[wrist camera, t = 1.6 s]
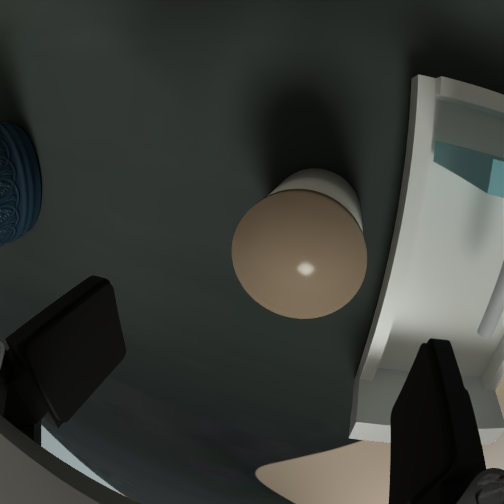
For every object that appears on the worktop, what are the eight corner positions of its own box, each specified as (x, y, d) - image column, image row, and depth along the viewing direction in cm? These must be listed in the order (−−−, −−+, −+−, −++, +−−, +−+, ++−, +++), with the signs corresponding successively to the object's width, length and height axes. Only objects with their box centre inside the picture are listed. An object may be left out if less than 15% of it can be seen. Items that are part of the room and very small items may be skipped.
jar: (368, 173, 18) (378, 203, 12) (354, 262, 20) (352, 327, 14) (272, 161, 19) (232, 185, 13) (267, 249, 22) (231, 305, 15)
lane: (566, 129, 12) (619, 140, 7) (479, 390, 21) (492, 443, 16) (411, 78, 15) (437, 62, 10) (354, 379, 24) (348, 438, 19)
